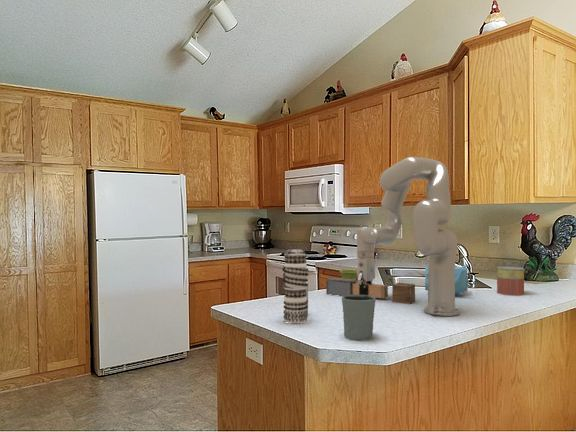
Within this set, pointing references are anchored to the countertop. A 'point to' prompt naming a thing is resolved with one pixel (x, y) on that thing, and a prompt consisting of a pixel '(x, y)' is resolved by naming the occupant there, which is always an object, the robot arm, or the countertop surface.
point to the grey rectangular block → (339, 286)
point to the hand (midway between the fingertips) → (365, 294)
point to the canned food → (510, 281)
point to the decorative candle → (295, 286)
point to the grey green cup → (358, 316)
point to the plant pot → (348, 274)
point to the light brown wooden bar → (371, 290)
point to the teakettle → (460, 280)
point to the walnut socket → (403, 293)
